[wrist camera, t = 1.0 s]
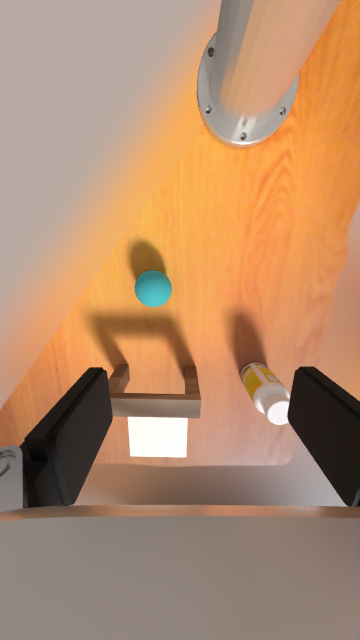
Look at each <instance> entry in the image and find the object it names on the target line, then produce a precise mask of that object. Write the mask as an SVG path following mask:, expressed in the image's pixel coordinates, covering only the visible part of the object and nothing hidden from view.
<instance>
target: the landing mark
mask: <svg viewBox="0 0 360 640" xmlns="http://www.w3.org/2000/svg"><path fill="white" fill-rule="evenodd" d="M128 429H129V445H130V456H146V457H186V445H187V418H165V417H128Z"/></svg>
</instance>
